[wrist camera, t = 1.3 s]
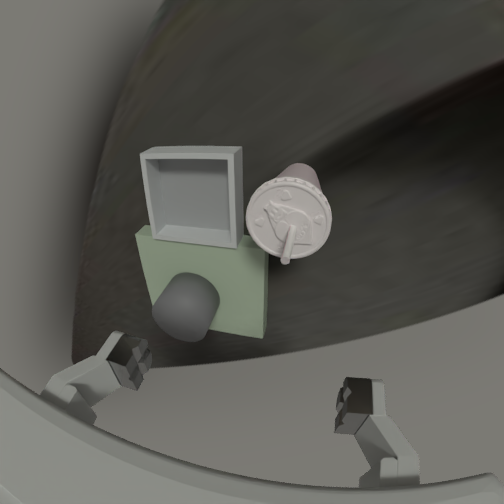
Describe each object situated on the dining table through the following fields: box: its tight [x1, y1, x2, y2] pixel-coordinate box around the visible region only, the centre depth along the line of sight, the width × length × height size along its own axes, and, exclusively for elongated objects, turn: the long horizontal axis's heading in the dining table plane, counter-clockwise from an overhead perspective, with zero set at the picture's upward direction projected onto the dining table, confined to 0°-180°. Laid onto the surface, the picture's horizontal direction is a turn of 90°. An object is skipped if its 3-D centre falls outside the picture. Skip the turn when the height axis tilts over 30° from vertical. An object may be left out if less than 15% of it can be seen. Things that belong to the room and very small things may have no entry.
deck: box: [135, 146, 269, 342], centre depth 34 cm, size 16×24×8 cm, turn 1°
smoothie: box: [246, 163, 332, 264], centre depth 24 cm, size 6×6×14 cm
